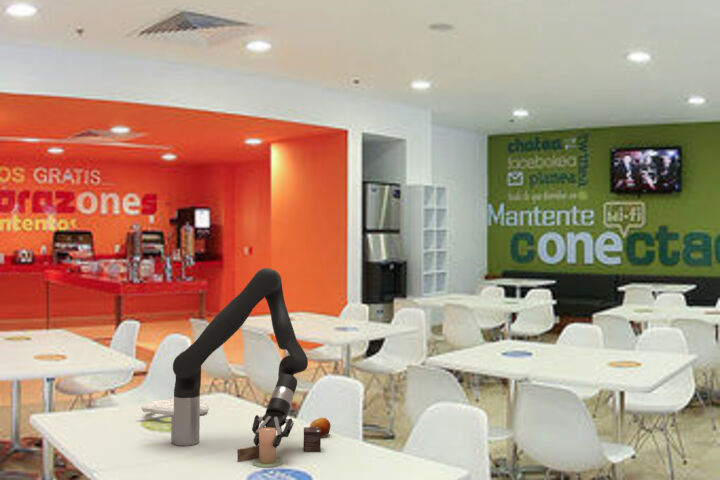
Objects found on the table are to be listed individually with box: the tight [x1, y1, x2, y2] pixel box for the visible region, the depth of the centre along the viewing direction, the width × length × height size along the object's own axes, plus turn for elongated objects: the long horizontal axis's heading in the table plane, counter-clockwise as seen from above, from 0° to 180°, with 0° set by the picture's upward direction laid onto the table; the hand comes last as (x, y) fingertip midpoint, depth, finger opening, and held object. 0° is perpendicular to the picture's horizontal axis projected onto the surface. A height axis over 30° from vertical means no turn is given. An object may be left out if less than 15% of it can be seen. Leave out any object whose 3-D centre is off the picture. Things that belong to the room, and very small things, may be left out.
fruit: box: [309, 417, 331, 438], centre depth 294 cm, size 8×8×8 cm
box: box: [303, 426, 322, 453], centre depth 276 cm, size 6×6×7 cm
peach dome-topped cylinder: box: [258, 426, 277, 464], centre depth 260 cm, size 6×6×11 cm
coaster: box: [251, 457, 283, 469], centre depth 260 cm, size 10×10×1 cm
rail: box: [236, 445, 259, 463], centre depth 265 cm, size 14×1×4 cm, turn 128°
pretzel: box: [140, 397, 210, 417], centre depth 324 cm, size 28×24×6 cm
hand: (265, 445), depth 258 cm, fingers open, 6 cm apart
